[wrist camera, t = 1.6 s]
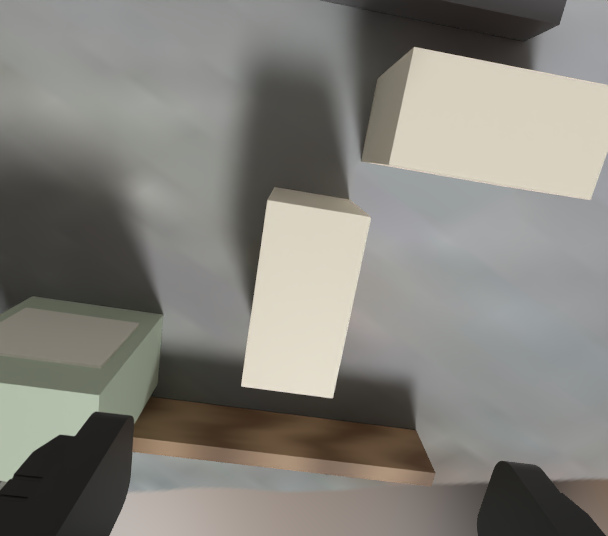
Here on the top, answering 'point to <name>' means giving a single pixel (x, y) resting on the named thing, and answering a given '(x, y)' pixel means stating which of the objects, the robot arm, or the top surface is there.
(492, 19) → the rail
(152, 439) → the shelf back lip
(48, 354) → the sage tea tin
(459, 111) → the faced twin box
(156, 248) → the top surface
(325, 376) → the box
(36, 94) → the top surface
